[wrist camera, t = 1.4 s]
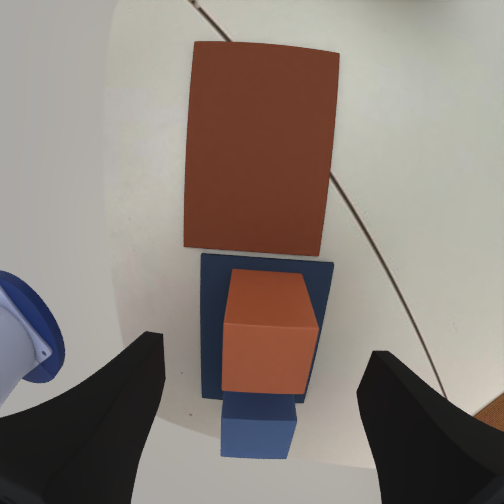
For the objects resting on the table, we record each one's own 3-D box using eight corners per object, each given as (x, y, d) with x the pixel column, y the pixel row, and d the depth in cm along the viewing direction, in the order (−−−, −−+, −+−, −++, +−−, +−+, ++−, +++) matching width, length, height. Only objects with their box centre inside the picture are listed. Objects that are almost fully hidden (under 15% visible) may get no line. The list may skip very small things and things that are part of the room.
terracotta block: (293, 330, 21) (304, 394, 15) (229, 326, 21) (221, 391, 15) (302, 272, 19) (319, 328, 14) (232, 268, 19) (223, 323, 14)
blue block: (281, 397, 23) (286, 459, 17) (226, 394, 23) (220, 456, 17) (288, 356, 22) (297, 421, 16) (228, 352, 22) (220, 417, 16)
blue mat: (303, 400, 24) (303, 403, 23) (202, 395, 23) (202, 398, 23) (333, 262, 19) (334, 264, 19) (201, 253, 19) (200, 254, 19)
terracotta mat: (317, 254, 19) (318, 256, 19) (184, 245, 19) (183, 247, 19) (338, 54, 15) (339, 53, 15) (195, 42, 15) (194, 41, 15)
